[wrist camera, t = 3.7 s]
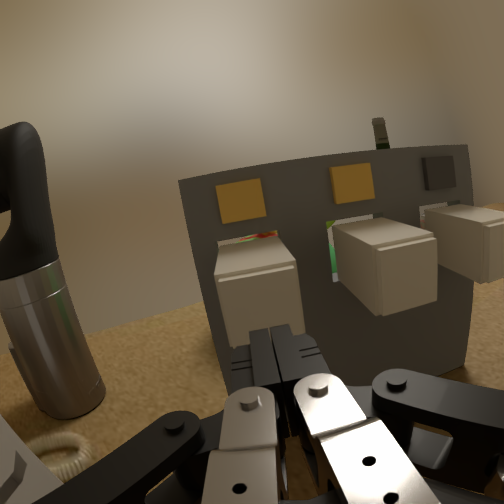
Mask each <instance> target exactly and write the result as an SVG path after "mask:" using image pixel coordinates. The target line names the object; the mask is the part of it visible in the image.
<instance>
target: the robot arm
mask: <svg viewBox="0 0 504 504" xmlns="http://www.w3.org/2000/svg"><path fill="white" fill-rule="evenodd" d="M8 210H11V223H10V226H9V229H8V230H7V232H6V234H5V235H4V237H3V238H2V240H1V241H0V313H1V316H2V319H3V322H4V324H5V327H6V329H7V332H8V334H9V337H10V339H11V342H10V343H9V350H10V352H11V355H12V357H13V359H14V361H15V363H16V366H17V368H18V370H19V372H20V374H21V376H22V378H23V380H24V382H25V384H26V386H27V388H28V390H29V392H30V394H31V395H32V397H33V399H34V401H35V403H36V404H37V406H38V408H39V410H43V411H45V412H46V413H47V414H48V415H49V416H51V417H53V418H57V419H70V418H74V417H78V416H80V415H83V414H85V413H87V412H89V411H91V410H92V409H93V408H95V407H96V406H97V405H98V404H99V403H100V402H101V401H102V399H103V398H104V395H105V393H106V388H105V385H104V383H103V381H102V378H101V376H100V374H99V372H98V369H97V367H96V365H95V362H94V359H93V357H92V355H91V352H90V350H89V347H88V345H87V342H86V339H85V337H84V334H83V332H82V329H81V326H80V323H79V320H78V318H77V315H76V312H75V309H74V306H73V303H72V300H71V297H70V294H69V290H68V287H67V284H66V281H65V277H64V274H63V270H62V267H61V263H60V260H59V258H58V257H59V255H58V252H57V247H56V241H55V232H54V225H53V220H52V214H51V209H50V202H49V195H48V186H47V176H46V167H45V159H44V153H43V147H42V143H41V140H40V137H39V135H38V133H37V131H36V129H35V128H34V127H33V126H32V125H31V124H30V123H27V122H18V123H15V124H12V125H10V126H7V127H5V128H3V129H0V213H2V212H5V211H8ZM270 334H271V339H270V335H269V330H268V328H264V329H258V330H253V331H249V339H250V344H248V345H242V346H237V347H236V348H235V350H234V351H233V353H232V354H231V395H230V396H229V397H228V398H227V400H226V402H225V407H224V409H223V410H222V411H221V412H219V413H217V414H215V415H212V416H210V417H207V418H204V419H201V420H199V418H198V416H197V415H195V414H194V413H192V412H189V411H174V412H170V413H167V414H165V415H163V416H161V417H160V418H158V419H157V420H156V421H154V422H153V423H152V424H150V425H149V426H148V427H146V428H145V429H143V430H142V431H141V432H139V433H138V434H137V435H135V436H134V437H132V438H131V439H130V440H128V441H127V442H125V443H124V444H123V445H121V446H120V447H118V448H117V449H115V450H114V451H113V452H111V453H110V454H108V455H107V456H105V457H104V458H102V459H101V460H99V461H98V462H97V463H95V464H94V465H92V466H91V467H89V468H88V469H86V470H85V471H83V472H81V473H80V474H78V475H77V476H75V477H74V478H72V479H71V480H69V481H68V482H66V483H64V484H63V485H61V486H60V487H58V488H56V489H55V490H53V491H52V492H50V493H48V494H47V495H45V496H43V497H42V498H40V499H38V500H37V501H35V502H33V503H31V504H504V391H503V390H498V389H493V388H487V387H482V386H477V385H472V384H467V383H463V382H458V381H453V380H449V379H444V378H440V377H435V376H431V375H427V374H423V373H419V372H414V371H410V370H406V369H390V370H387V371H384V372H382V373H380V374H379V375H377V376H376V377H375V378H374V380H373V383H372V386H360V387H353V386H347V385H344V384H343V382H342V381H341V380H340V379H339V378H338V377H336V376H334V375H332V374H331V372H330V370H329V368H328V366H327V364H326V362H325V360H324V358H323V356H322V354H321V352H320V350H319V348H318V346H317V344H316V342H315V340H314V338H312V337H310V336H309V335H307V334H305V333H304V334H299V335H294V336H293V333H292V331H291V328H290V326H289V324H284V325H279V326H274V327H270ZM271 340H272V343H271ZM272 346H273V347H272ZM273 351H274V352H273ZM285 408H286V410H285ZM286 413H287V416H286ZM287 417H288V421H289V426H290V430H291V434H292V437H293V436H298V435H299V437H300V441H301V447H302V454H303V457H304V459H305V462H306V465H307V467H308V470H309V473H310V475H311V478H312V481H313V483H314V486H315V489H316V491H317V494H318V496H317V497H315V498H313V499H310V500H289V492H288V480H287V468H286V457H285V451H286V445H285V439H284V438H288V437H290V434H289V428H288V422H287ZM415 422H417V423H421V424H424V425H427V426H431V427H435V428H438V429H442V430H445V431H447V432H449V433H450V434H451V435H452V437H448V436H444V435H440V434H437V433H433V432H430V431H426V430H423V429H420V428H416V427H414V423H415ZM172 471H173V474H172V475H171V476H170V477H169V478H167V479H166V480H165V481H164V482H163V483H161V484H160V485H159V486H158V487H157V488H155V489H154V490H153V491H152V492H150V493H149V494H148V495H147V496H146V494H147V492H148V491H149V490H150V489H152V488H153V487H154V486H155V485H157V484H158V483H159V482H160V481H161V480H163V479H164V478H165V477H166V476H167V475H169V474H170V473H171V472H172ZM421 476H423V477H426V478H422V477H421ZM427 478H429V479H427ZM432 479H433V480H432ZM445 483H446V484H445ZM448 484H449V485H448ZM451 485H453V486H451ZM454 486H456V487H454ZM457 487H460V488H463V489H460V488H457ZM464 489H467V490H471V491H475V492H479V493H483V494H485V496H484V495H481V494H477V493H474V492H470V491H467V490H464Z"/></svg>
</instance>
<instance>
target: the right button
mask: <svg viewBox="0 0 504 504" xmlns="http://www.w3.org/2000/svg"><path fill="white" fill-rule="evenodd" d="M424 213H425V228H426V230H427V231H430V232H433V233H434V238H436V239H437V263H438V264H440V265H442V266H444V267H446V268H448V269H450V270H452V271H454V272H457V273H459V274H461V275H463V276H465V277H467V278H469V279H471V280H473V281H475V282H477V283H479V284H482V283H485V282H487V283H490V282H493V281H496V280H498V279H501V278H504V212H502V211H497V210H491V209H486V208H480V207H474V206H469V205H463V204H457V205H451V206H445V207H439V208H433V209H427V210H424Z"/></svg>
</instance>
